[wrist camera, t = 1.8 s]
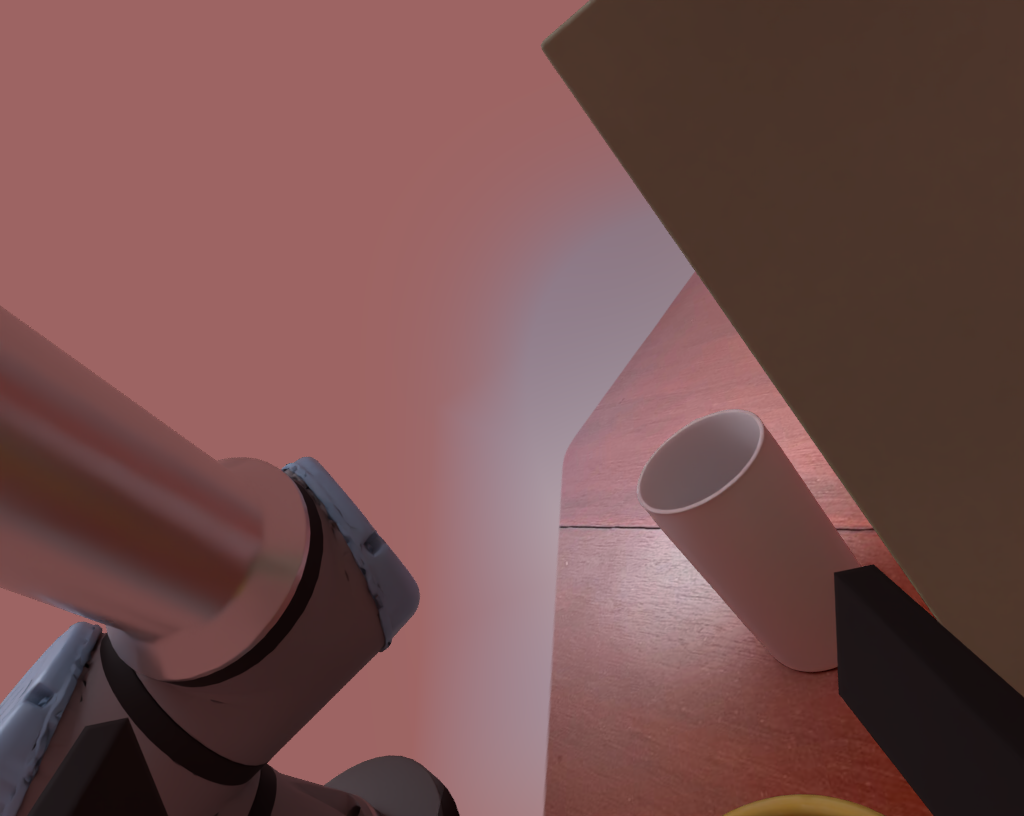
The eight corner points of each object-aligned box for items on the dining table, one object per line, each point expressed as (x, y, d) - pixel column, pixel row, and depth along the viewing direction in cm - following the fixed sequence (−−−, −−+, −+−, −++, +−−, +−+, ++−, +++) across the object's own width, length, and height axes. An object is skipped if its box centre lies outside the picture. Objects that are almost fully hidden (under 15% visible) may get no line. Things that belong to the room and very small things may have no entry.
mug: (911, 643, 34) (779, 461, 30) (778, 699, 36) (641, 536, 32) (843, 515, 43) (735, 361, 39) (740, 566, 45) (628, 426, 41)
